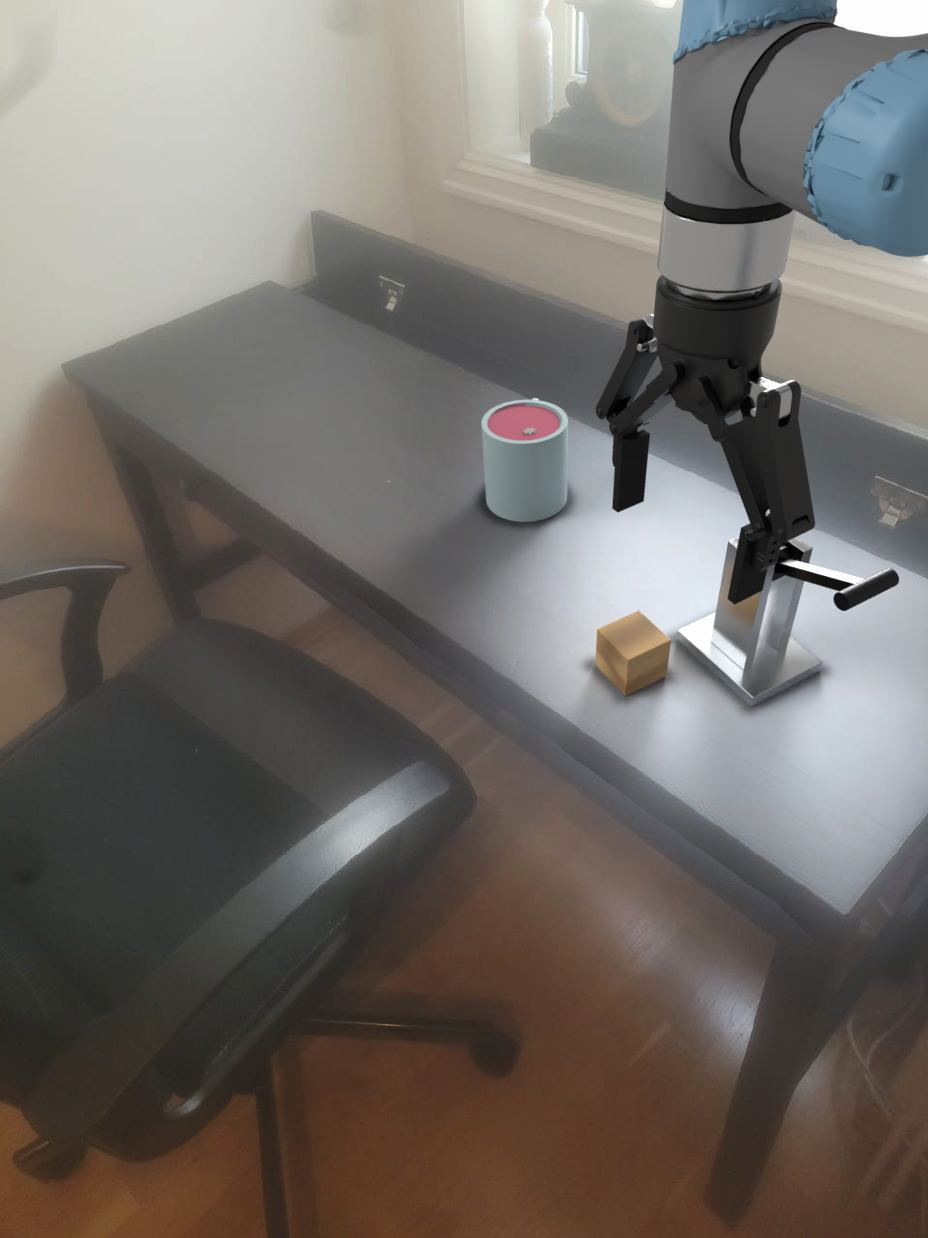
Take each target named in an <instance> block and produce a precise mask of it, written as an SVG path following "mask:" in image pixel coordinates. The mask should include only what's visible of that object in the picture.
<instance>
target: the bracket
mask: <svg viewBox="0 0 928 1238" xmlns="http://www.w3.org/2000/svg"><path fill="white" fill-rule="evenodd" d="M738 541H739V536H738V537H734V538H732V539H730V540H728V541H727V545H726V553H725V556H724V563H723V568H722V574H721V581H720V584H719V590H718V591H719V592H718V598H717V603H716V607H715V608H716V609H715V612H713V613H711V614H708V615H706V616H704V617H702V618H700V619H698V620H695V621H694V622H692V623H689V624H687V625H685V626H683V627H681V628H678V629H677V631H676V638H675V639H676V640H677V641H678V642H679V643H680V644H681V645H682V646H683V647H684V648H686V650H687V651H689V652H690V653H691V654H692V655H693V656H694V657H695V658H696V659H697V660H699V661H700V662H701V663H702V664H703V665H704V667H706V668H708V670H709V671H711V672H712V674H714V675H715V676H716V677H717V678H718V679H719V680H721V681H722V682H723V684H725V685H726V686H727V687H728V688H729V689H731V691H733V692H734V693H735V695H737V696H738V697H739V698H740V699H741V700H743V701H744V702H745V703H746V705H748V706H749V707H750V708H752V707H754V706H756V705H757V704H760V703H761V702H763V701H765V700H767V699H770V698H771V697H773V696H775V695H777V694H779V693H781V692H782V691H784V690H787V689H788V688H790V687H792V686H794V685H795V684H798V683H800V682H801V681H803V680H805V679H807V678H809V677H811V676H813V675H815V674H817V673H818V672H820V671H821V668H822V665H823V661H822V660H821V659H820V658H819V657H818V656H816V655H815V654H814V653H812V652H811V651H810V650H808V649H807V648H806V647H805V646H804V645H803V644H801V643H800V642H799V641H797V640H796V639H795V638H794V637H792V634H791V633H792V631H793V626H794V622H795V618H796V615H797V612H798V607H799V603H800V599H801V596H802V592H803V588H804V585H805V581H802V580H799V579H795V578H792V577H788V576H783V577H781V578H779V579H777V580H775V581H773V582H772V577H773V573H774V568H775V565H773V566H771V567H769V568H768V569H767V574H766V578H765V582H764V587H763V591H761V592H759V593H757V594H755V595H753V596H751V597H749V598H747V599H745V600H743V601H741V602H739V603H737V604H735V605H734V604H733V603H732V602H731V601H729V600H728V599H727V598H728V593H729V588H730V583H731V577H732V572H733V567H734V562H735V556H736V551H737V546H738ZM782 546H786V547H788V557H789V559H792V560H796V561H800V562H803V563H807V564H810V561H811V558H812V554H813V550H814V547H813V546H812V545H811V544H809V543H807V542H806V541H804V540H803V539H802V538H800V537H799V536H797V537H795V538H793V539H791V540H789V541H787V542H785V543H782Z"/></svg>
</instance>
